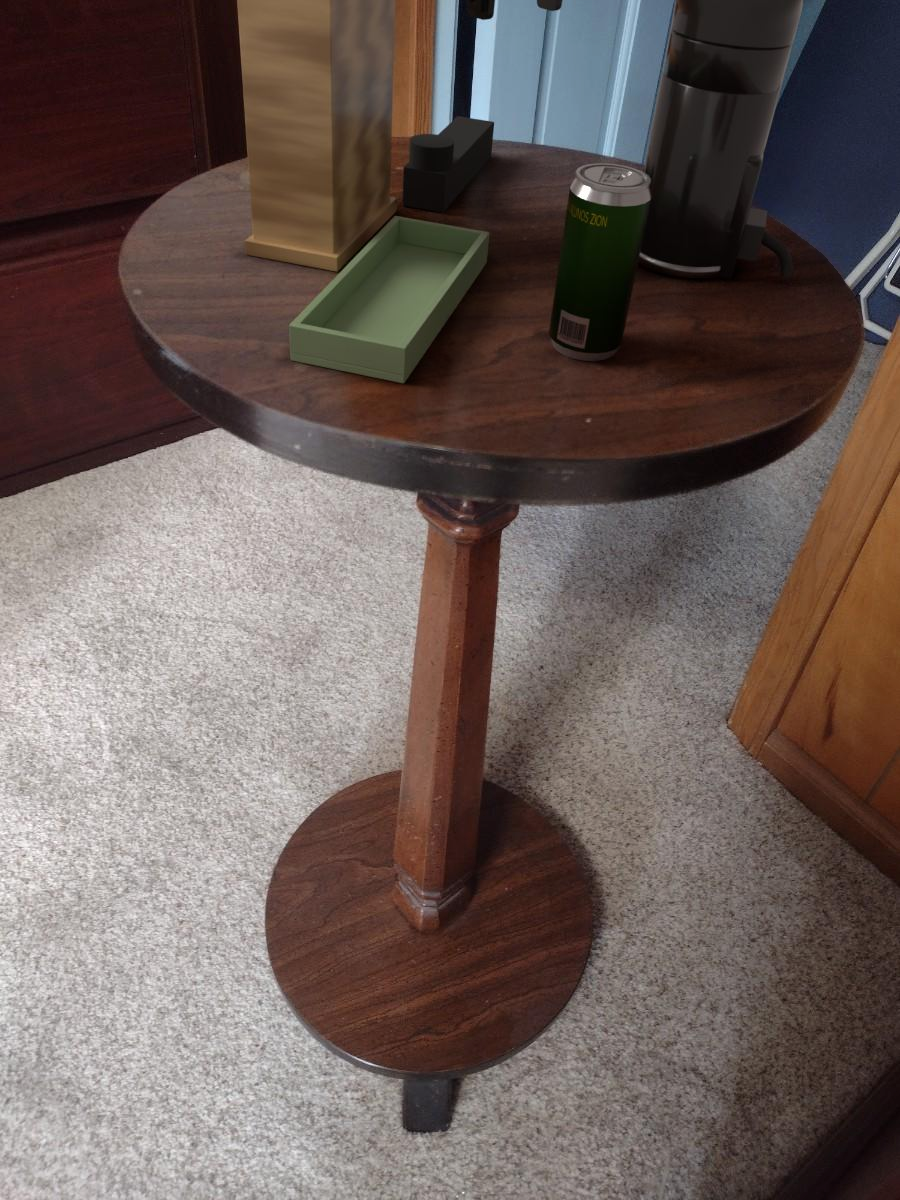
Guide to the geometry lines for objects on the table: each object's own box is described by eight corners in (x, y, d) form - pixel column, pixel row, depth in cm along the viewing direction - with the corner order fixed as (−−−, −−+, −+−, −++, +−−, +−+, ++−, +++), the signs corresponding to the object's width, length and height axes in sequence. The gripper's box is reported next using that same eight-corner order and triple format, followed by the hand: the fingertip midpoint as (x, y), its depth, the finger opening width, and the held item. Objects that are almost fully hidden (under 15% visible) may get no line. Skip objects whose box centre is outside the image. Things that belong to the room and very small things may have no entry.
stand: (315, 196, 90) (305, -226, 70) (396, 211, 89) (410, -216, 69) (245, 254, 79) (210, -227, 59) (337, 272, 78) (332, -215, 58)
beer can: (608, 370, 68) (642, 196, 60) (537, 351, 70) (561, 179, 62) (628, 339, 72) (663, 172, 64) (560, 322, 74) (586, 157, 66)
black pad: (455, 151, 103) (458, 94, 99) (491, 157, 102) (496, 100, 99) (401, 206, 90) (404, 143, 86) (443, 213, 89) (447, 150, 86)
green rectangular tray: (394, 246, 83) (394, 215, 81) (486, 262, 81) (489, 232, 79) (290, 360, 66) (288, 325, 65) (404, 384, 65) (405, 348, 63)
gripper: (516, -250, 63) (490, 32, 74) (643, -237, 71) (603, 15, 82) (435, -258, 67) (422, 11, 78) (565, -245, 75) (536, -3, 86)
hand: (515, 13), depth 80 cm, fingers open, 8 cm apart
